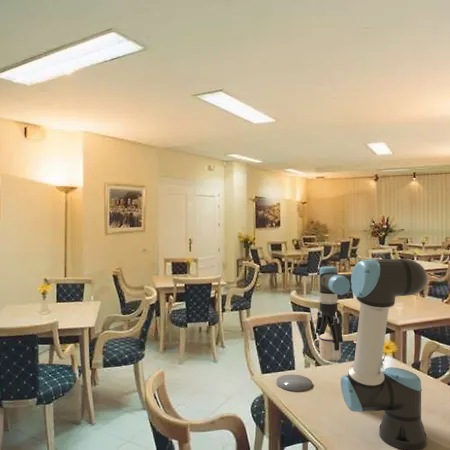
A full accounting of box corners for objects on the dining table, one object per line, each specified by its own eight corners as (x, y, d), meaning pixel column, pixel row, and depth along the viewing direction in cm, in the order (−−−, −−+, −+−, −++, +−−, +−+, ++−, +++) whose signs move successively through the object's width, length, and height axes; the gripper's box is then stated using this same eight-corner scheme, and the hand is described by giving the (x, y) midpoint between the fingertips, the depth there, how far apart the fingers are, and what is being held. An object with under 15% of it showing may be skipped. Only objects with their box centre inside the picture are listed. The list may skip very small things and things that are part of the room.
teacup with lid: (344, 356, 179) (343, 329, 179) (336, 362, 172) (336, 334, 172) (318, 351, 186) (317, 326, 186) (310, 357, 179) (309, 330, 179)
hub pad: (318, 387, 184) (318, 385, 184) (287, 393, 178) (287, 390, 178) (299, 375, 199) (299, 372, 199) (270, 380, 193) (270, 377, 193)
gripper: (351, 306, 169) (352, 360, 169) (321, 297, 189) (321, 345, 189) (336, 308, 166) (336, 363, 166) (307, 298, 186) (307, 347, 187)
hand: (328, 353), depth 178 cm, fingers closed on teacup with lid, 9 cm apart
